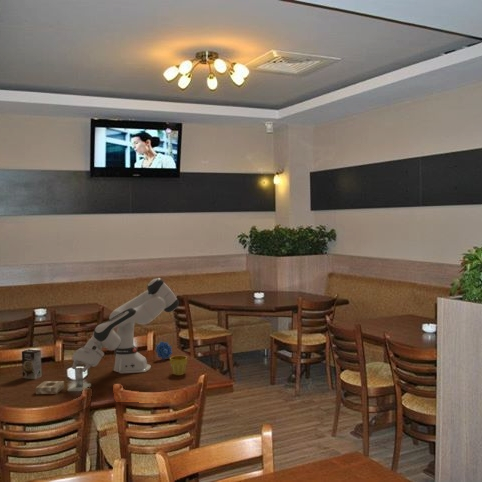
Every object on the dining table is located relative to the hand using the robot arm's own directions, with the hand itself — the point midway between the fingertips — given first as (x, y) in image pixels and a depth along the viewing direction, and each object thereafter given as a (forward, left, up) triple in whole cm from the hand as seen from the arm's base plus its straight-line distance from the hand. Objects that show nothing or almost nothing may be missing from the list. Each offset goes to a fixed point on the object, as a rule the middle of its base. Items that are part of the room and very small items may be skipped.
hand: (77, 370), depth 322 cm
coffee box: (+36, -22, -11) cm, 43 cm away
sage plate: (0, -1, -10) cm, 10 cm away
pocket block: (+15, +3, -10) cm, 18 cm away
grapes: (-36, -60, -11) cm, 71 cm away
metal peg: (0, -1, -9) cm, 9 cm away
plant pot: (-51, -28, -11) cm, 59 cm away
